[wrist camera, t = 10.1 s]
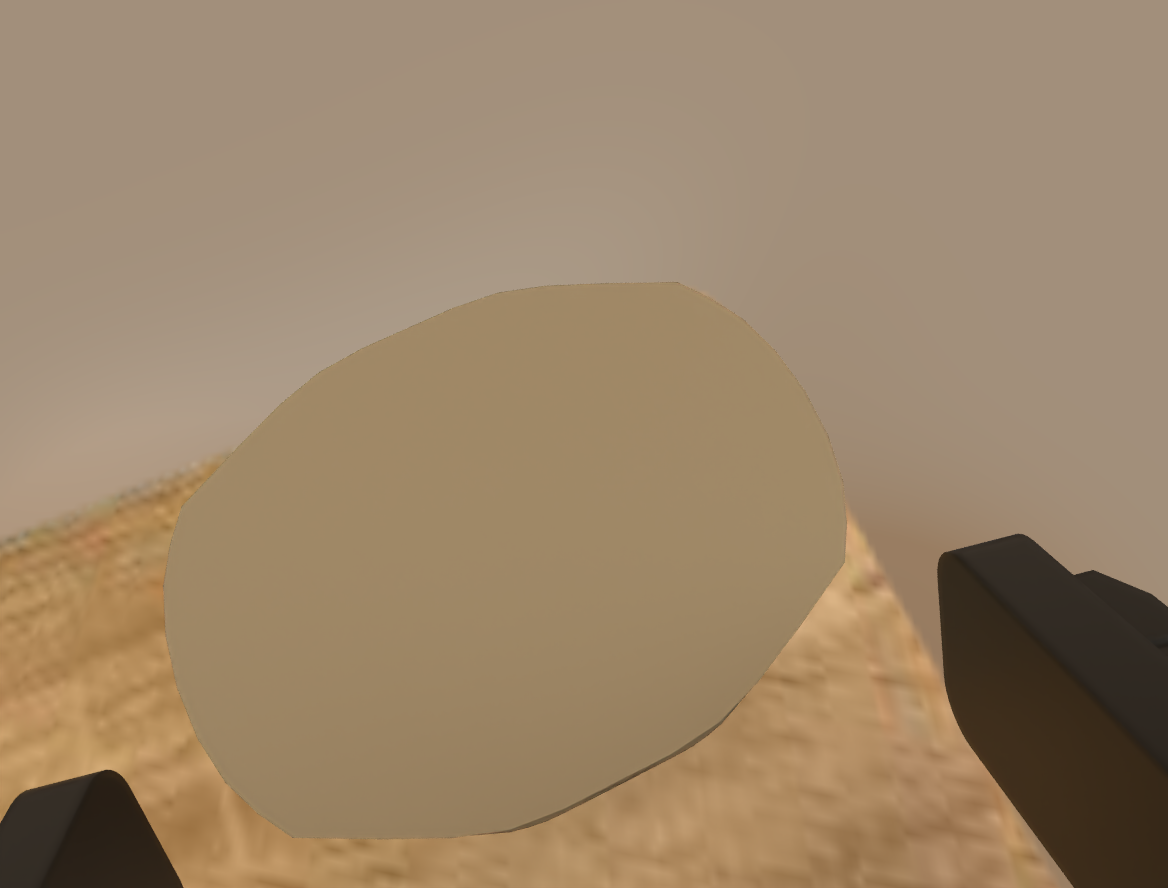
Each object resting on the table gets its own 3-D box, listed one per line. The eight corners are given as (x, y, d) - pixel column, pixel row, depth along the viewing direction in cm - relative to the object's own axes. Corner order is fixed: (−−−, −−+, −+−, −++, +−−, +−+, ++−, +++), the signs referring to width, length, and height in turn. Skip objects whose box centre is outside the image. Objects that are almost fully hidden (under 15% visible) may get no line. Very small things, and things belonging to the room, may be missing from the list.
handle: (426, 667, 23) (107, 461, 9) (660, 553, 24) (688, 204, 10) (505, 861, 22) (262, 964, 8) (754, 733, 22) (944, 614, 8)
